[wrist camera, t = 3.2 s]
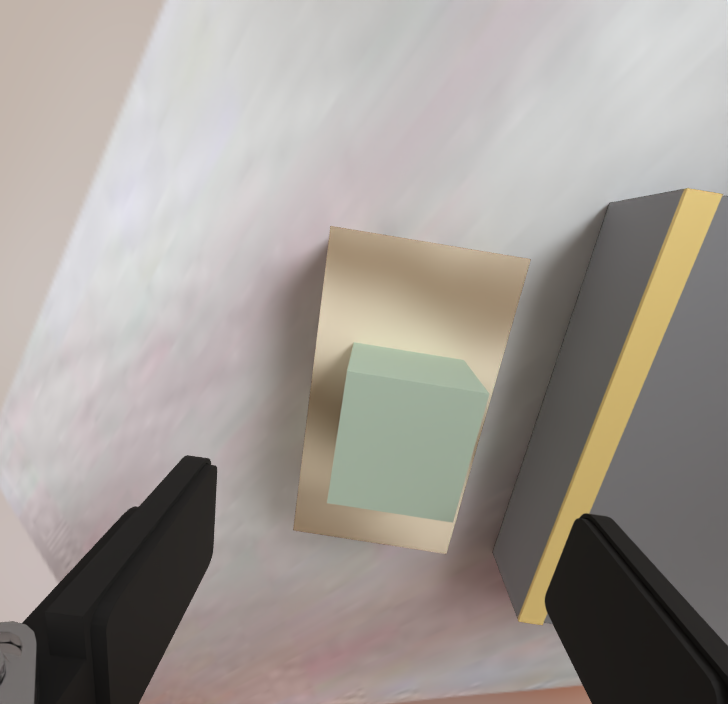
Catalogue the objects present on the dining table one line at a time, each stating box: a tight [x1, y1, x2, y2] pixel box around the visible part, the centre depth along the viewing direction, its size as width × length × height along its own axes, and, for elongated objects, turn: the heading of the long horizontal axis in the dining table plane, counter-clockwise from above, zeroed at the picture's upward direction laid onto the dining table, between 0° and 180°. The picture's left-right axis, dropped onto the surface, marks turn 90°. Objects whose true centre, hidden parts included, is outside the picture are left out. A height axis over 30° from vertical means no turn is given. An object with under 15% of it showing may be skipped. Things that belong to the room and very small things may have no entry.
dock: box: [493, 188, 728, 646], centre depth 17 cm, size 20×12×4 cm, turn 171°
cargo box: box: [327, 342, 489, 523], centre depth 13 cm, size 5×4×3 cm
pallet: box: [293, 226, 531, 554], centre depth 17 cm, size 14×8×4 cm, turn 171°
